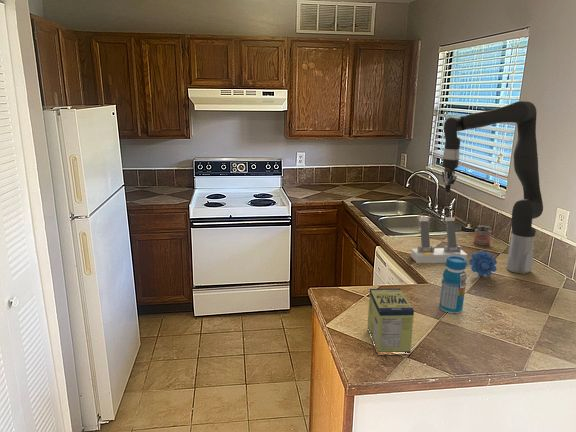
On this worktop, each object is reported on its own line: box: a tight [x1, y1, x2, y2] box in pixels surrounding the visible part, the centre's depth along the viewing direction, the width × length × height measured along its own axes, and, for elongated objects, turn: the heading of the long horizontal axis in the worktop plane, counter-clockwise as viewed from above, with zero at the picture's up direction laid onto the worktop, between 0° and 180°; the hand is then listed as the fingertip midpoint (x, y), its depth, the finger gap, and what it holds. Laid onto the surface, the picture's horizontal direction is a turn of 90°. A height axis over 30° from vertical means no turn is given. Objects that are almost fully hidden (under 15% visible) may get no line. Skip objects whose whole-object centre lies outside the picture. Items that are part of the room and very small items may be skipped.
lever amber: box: [418, 216, 431, 252], centre depth 207 cm, size 4×2×16 cm, turn 93°
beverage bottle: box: [438, 256, 468, 314], centre depth 158 cm, size 8×8×20 cm
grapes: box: [468, 249, 498, 277], centre depth 187 cm, size 12×7×12 cm, turn 81°
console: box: [410, 244, 468, 264], centre depth 207 cm, size 24×9×7 cm, turn 93°
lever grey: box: [444, 216, 458, 251], centre depth 208 cm, size 4×2×16 cm, turn 93°
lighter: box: [472, 225, 493, 246], centre depth 228 cm, size 8×3×10 cm, turn 62°
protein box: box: [367, 288, 415, 354], centre depth 137 cm, size 10×16×16 cm
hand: (447, 191), depth 219 cm, fingers closed
